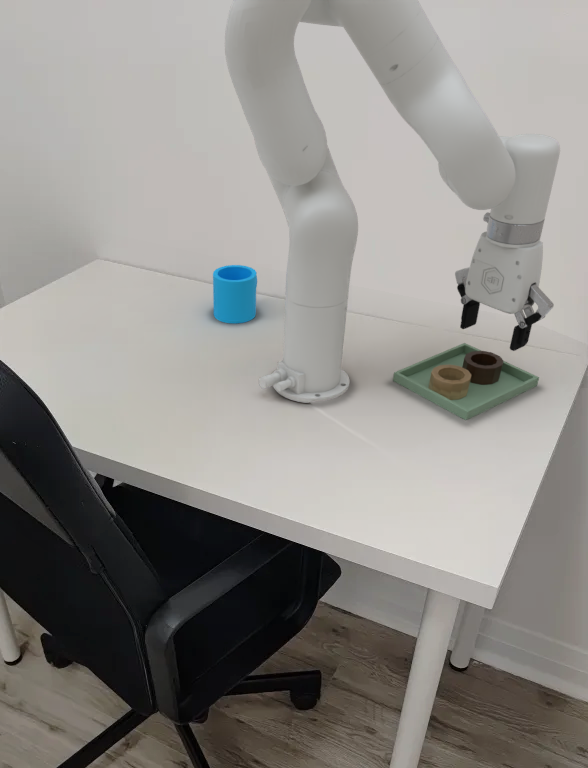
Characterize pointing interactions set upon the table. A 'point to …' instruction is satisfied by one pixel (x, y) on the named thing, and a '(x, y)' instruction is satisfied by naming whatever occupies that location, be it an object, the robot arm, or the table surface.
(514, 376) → the tray
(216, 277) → the mug
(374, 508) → the table surface
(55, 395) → the table surface
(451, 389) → the birch ring
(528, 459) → the table surface
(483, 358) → the walnut ring
